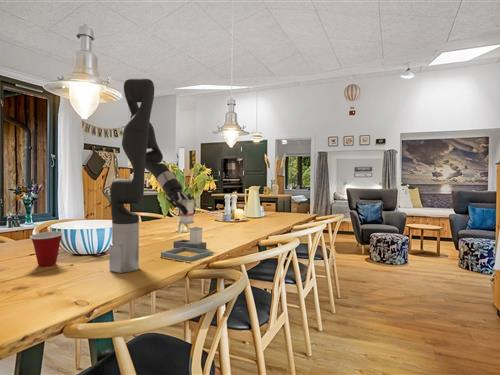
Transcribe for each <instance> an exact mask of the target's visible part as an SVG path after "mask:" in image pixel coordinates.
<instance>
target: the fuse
mask: <svg viewBox="0 0 500 375" xmlns="http://www.w3.org/2000/svg"><path fill="white" fill-rule="evenodd" d="M189 240H190V243H192V244H200V243H202V242H203V227H201V226H200V227H199V226H194V227H189Z"/></svg>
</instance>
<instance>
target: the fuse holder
mask: <svg viewBox="0 0 500 375" xmlns="http://www.w3.org/2000/svg"><path fill="white" fill-rule="evenodd" d="M180 247H188V248H195V249H202V250H207V242H205V241H202V243H200V244H192V243H190V239H184V238H183V239H178V240H174V241H173V249H176V248H180Z"/></svg>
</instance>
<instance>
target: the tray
mask: <svg viewBox="0 0 500 375" xmlns="http://www.w3.org/2000/svg"><path fill="white" fill-rule="evenodd" d="M181 252H189V253H196V254H195V255H191V256H188V255H183V254H182V255H181V254H178V253H181ZM176 253H177V254H176ZM211 255H212V250H209V249H208V250H207V249H204V250H202V249H195V248H188V247H180V248H173V249H169V250H165V251H161V252H160V259H163V260H169V261H173V260H174V261H173V262H179V263H184V262H185V263H186V264H192V261H195V260H199V259H201V258H205V257H207V256H211Z"/></svg>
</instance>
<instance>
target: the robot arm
mask: <svg viewBox="0 0 500 375" xmlns="http://www.w3.org/2000/svg"><path fill="white" fill-rule="evenodd" d="M123 93H124V98H125V101H126V103H127V105H128V108H129V112H130V114H131V118H130V119H129V121H128V122H127V123H126V124H125V126H124V128H123V131H122V137H121V138H122V139H121V140H122V141H121V147H122V150H123V152H124V153H125V156H126V157H127V159H128V161H129V163H130V165H131V167H132V171H133V173H132V174H133V176H132V178H115V179H113V180H112V182H111V183H110V190H109V192H110V194H109V195H110V212H111V214H110V216H111V223H112V224H111V227H112V228H111V243H110V244H109V272H114V273H119V274H122V273H130V272H134V271H137V270H139V267H140V264H139V262H140V260H139V259H140V257H139V256H140V253H139V252H140V216H139V214H138V213H135V212H133V211H131V210H129V209H127V208H126V207H125V205H139V204H141V203H142V202H143V199H144V192H145V170H147V171H148V172H149V173H150V174H152V176H153V177H154V178H155V180H156V181H157V184H159V186H160V188H161V189H162V190H163V192H164V194H165V195H166V198H165V200H166V201H167V202H168V203H169V204H170V205H171V206H173V208H175V209H176V208H178V209H179V211H180V210H181V211H182V213H183V214H184V215H186V214H187V213H188V210H187V209H186V207H185V206H184V205H183V203H182V202H181V200H194V199H193V197H192V195H191V193H185V191H183V186H182V184H181V183H180V182H179V181H178V179H177V177H176V176H175V175H174V174H173V173H172V171H171V170H170V169H169V168H168V166H167V165H166V164H165V163H162V161H163V158H164V157H163V156H164V155H163V153H162V150H161V148H159V145H158V143H157V138H156V133H155V129H154V127H153V124H152V123H151V122H150V120H151V114H152V110H153V109H152V108H153V104H154V98H155V84H154V82H153V81H152V80H151V79H149V78H127V79H124V83H123ZM138 103H140V105H139V104H138ZM147 149H148V150H147ZM193 213H194V214H195V213H196V209H195V208H194V209H193Z"/></svg>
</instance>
